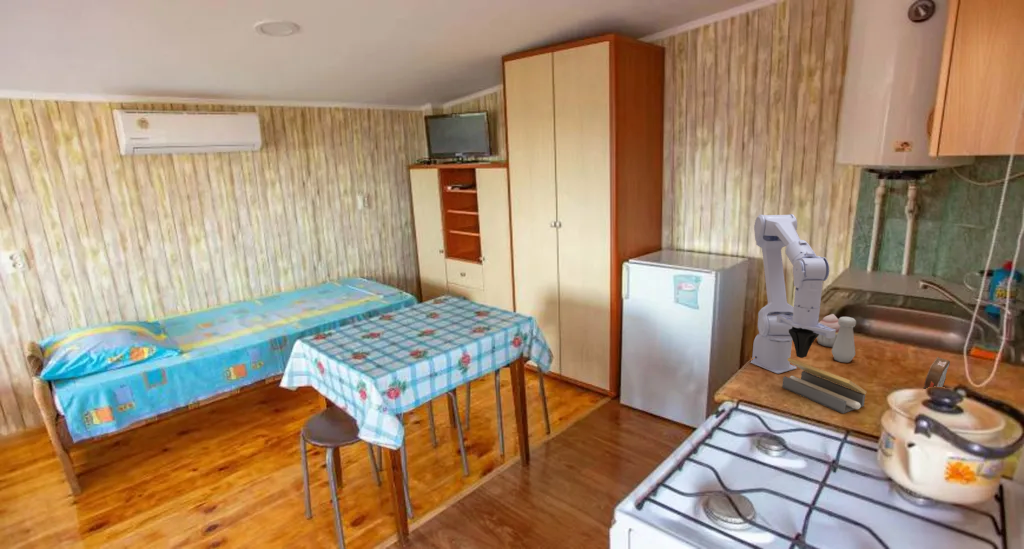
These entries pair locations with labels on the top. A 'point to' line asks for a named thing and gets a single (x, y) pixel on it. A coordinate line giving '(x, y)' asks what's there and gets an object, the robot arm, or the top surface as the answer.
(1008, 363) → the top surface
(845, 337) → the salt shaker
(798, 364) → the duct cover
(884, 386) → the top surface
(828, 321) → the cupcake
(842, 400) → the cable duct
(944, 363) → the tin
